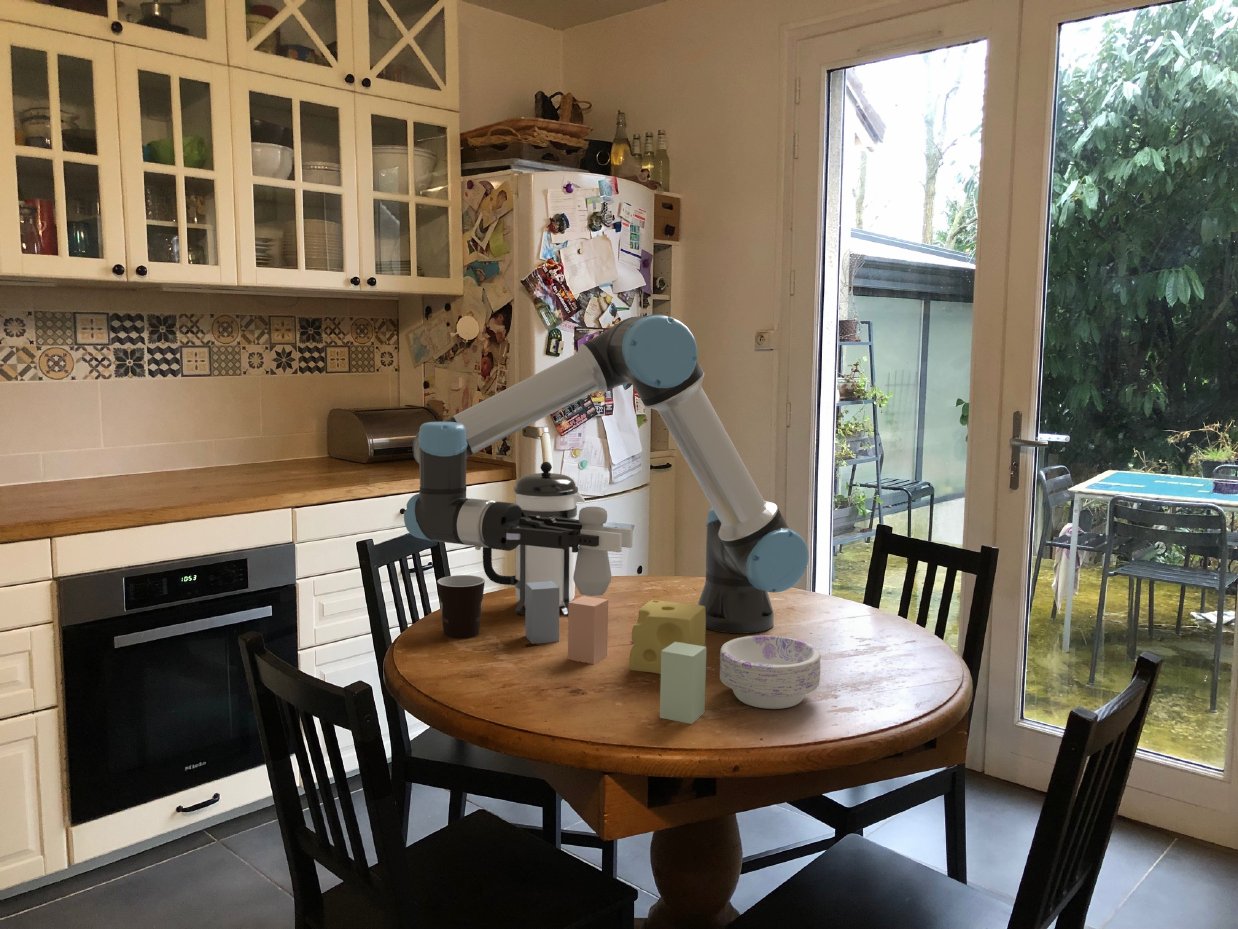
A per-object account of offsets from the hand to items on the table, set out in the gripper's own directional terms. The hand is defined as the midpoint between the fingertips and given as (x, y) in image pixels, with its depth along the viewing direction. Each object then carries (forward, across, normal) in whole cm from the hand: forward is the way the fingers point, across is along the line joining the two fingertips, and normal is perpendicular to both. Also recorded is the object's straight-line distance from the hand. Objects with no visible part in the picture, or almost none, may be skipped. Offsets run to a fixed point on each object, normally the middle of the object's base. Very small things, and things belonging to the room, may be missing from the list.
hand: (625, 540), depth 143 cm
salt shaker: (-5, 0, -9) cm, 10 cm away
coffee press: (-38, -38, -25) cm, 59 cm away
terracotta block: (-15, -16, -25) cm, 33 cm away
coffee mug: (-42, -18, -25) cm, 52 cm away
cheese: (-1, -19, -25) cm, 32 cm away
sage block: (+10, 0, -25) cm, 27 cm away
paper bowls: (+19, -13, -25) cm, 34 cm away
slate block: (-27, -21, -25) cm, 43 cm away
